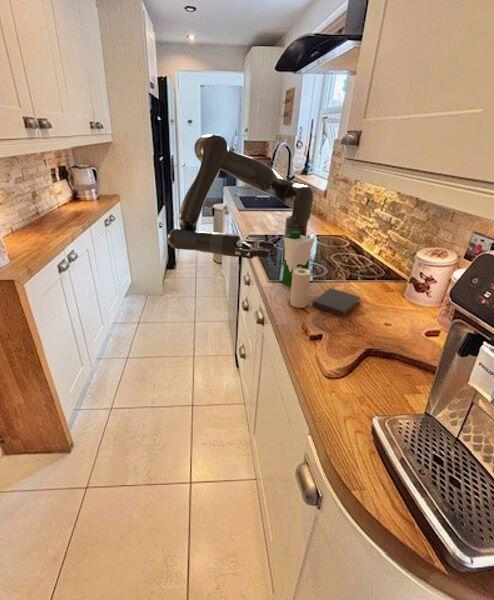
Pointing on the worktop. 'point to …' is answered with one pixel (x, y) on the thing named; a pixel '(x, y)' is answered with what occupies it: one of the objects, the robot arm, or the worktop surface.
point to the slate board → (336, 302)
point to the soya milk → (295, 254)
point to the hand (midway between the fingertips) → (271, 249)
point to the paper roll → (300, 287)
